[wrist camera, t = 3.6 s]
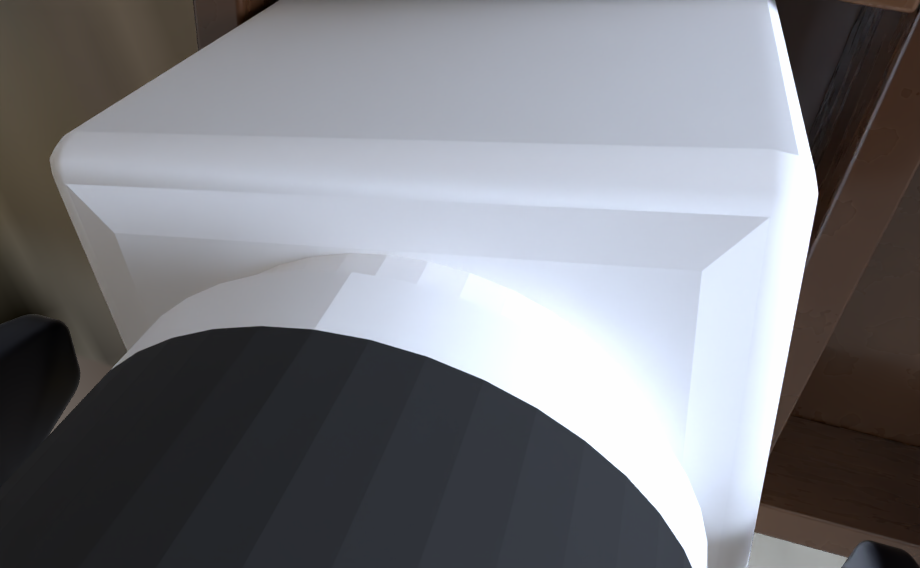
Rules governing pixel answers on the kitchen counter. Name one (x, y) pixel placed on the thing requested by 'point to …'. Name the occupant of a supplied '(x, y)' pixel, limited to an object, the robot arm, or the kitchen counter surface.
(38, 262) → the kitchen counter surface
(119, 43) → the kitchen counter surface
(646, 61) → the medicine bottle
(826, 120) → the holder
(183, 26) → the kitchen counter surface
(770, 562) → the kitchen counter surface
